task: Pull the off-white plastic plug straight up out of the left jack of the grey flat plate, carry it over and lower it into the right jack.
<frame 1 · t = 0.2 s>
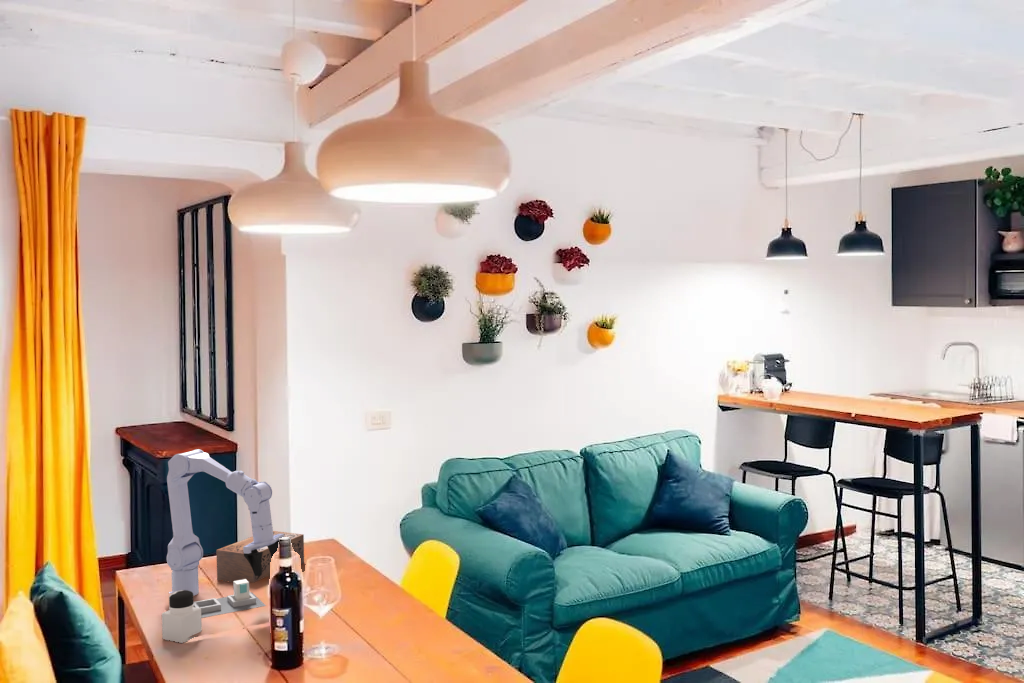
hand: (267, 571, 262), 10 cm above the table, tool pointing down, fingers open, 7 cm apart
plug: (241, 602, 264), point 1 cm above the table, touching grey flat plate
tissue box cover: (262, 572, 297), on the table
medicine bottle: (182, 637, 240), on the table
grey flat plate: (224, 608, 261), on the table
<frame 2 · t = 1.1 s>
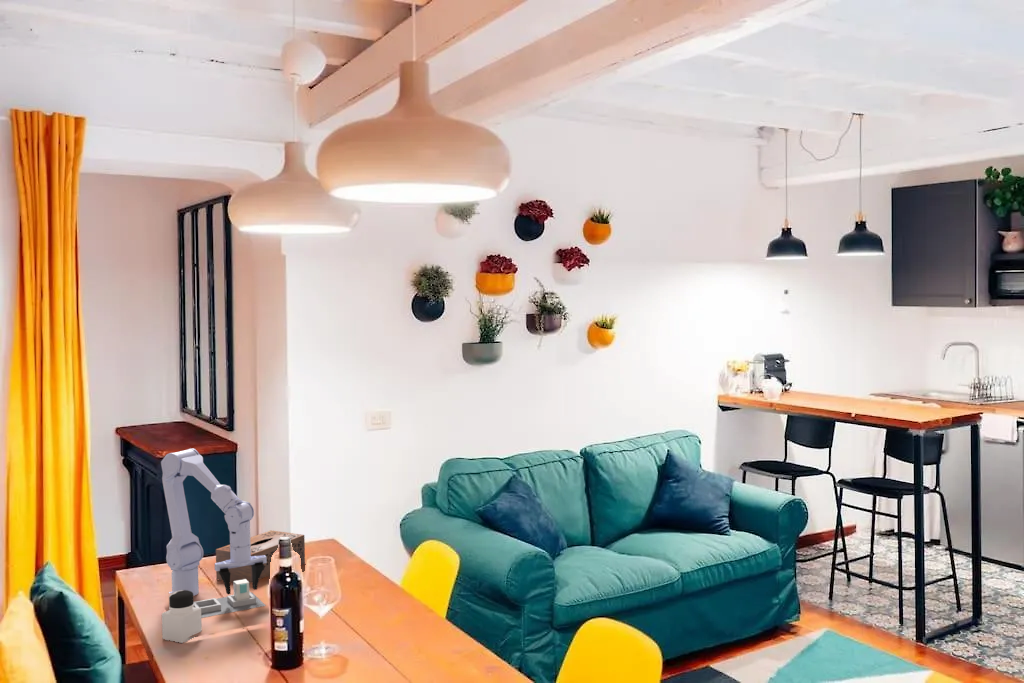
hand: (241, 591, 264), 4 cm above the table, tool pointing down, fingers open, 7 cm apart
nothing on the table moved.
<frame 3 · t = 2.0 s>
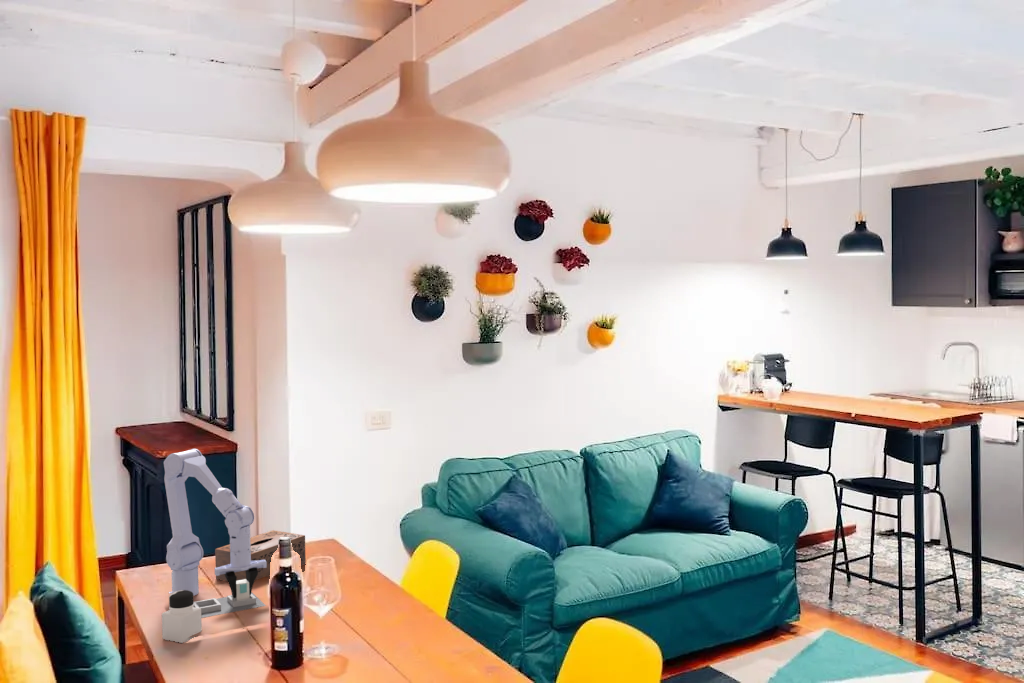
hand: (241, 595, 264), 3 cm above the table, tool pointing down, fingers closed on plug, 4 cm apart
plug: (241, 602, 264), point 1 cm above the table, touching gripper, grey flat plate
everything else where it was.
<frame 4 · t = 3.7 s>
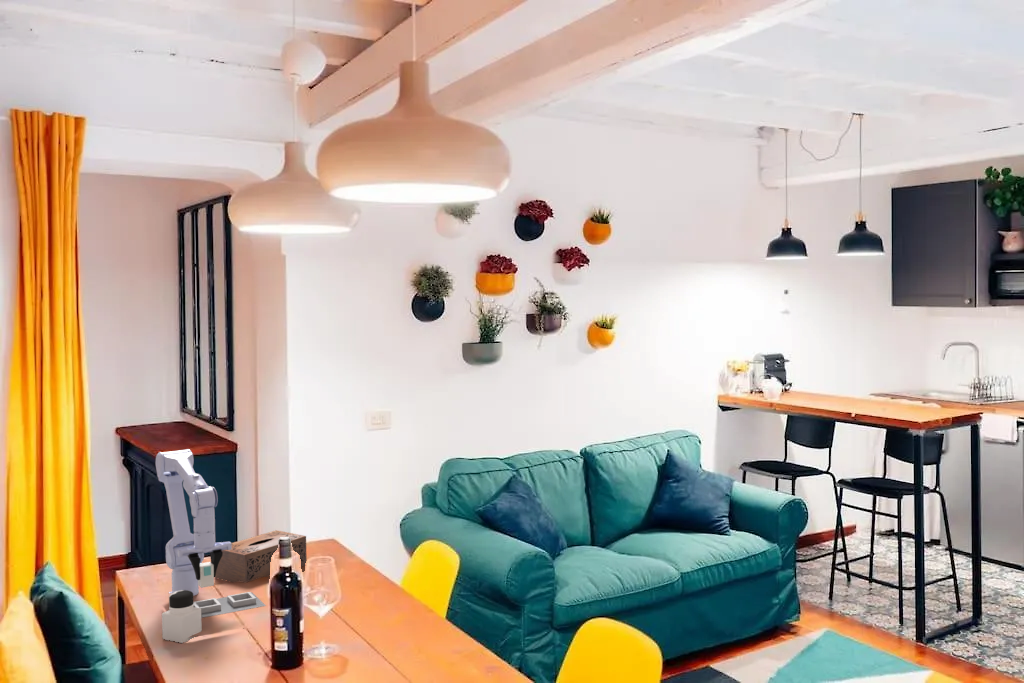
hand: (205, 577, 258), 10 cm above the table, tool pointing down, fingers closed on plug, 4 cm apart
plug: (206, 585, 258), point 8 cm above the table, touching gripper
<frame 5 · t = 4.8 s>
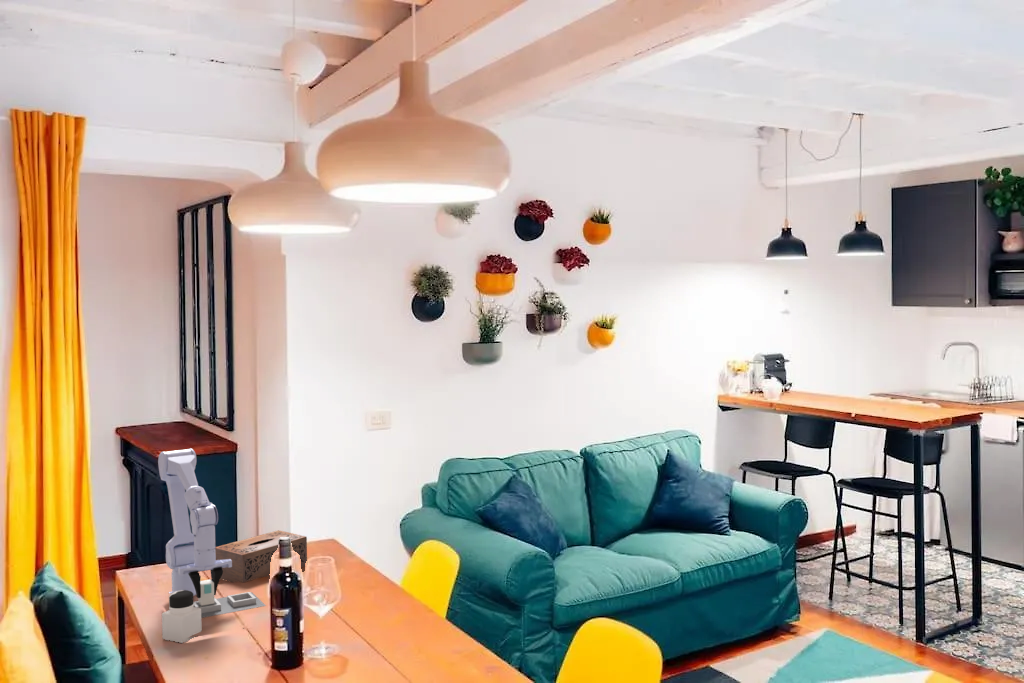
hand: (206, 595, 258), 5 cm above the table, tool pointing down, fingers closed on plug, 4 cm apart
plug: (206, 602, 258), point 3 cm above the table, touching gripper
when the fingers open (3 cm above the table, at t = 5.6 s): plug stays where it is, resting on grey flat plate.
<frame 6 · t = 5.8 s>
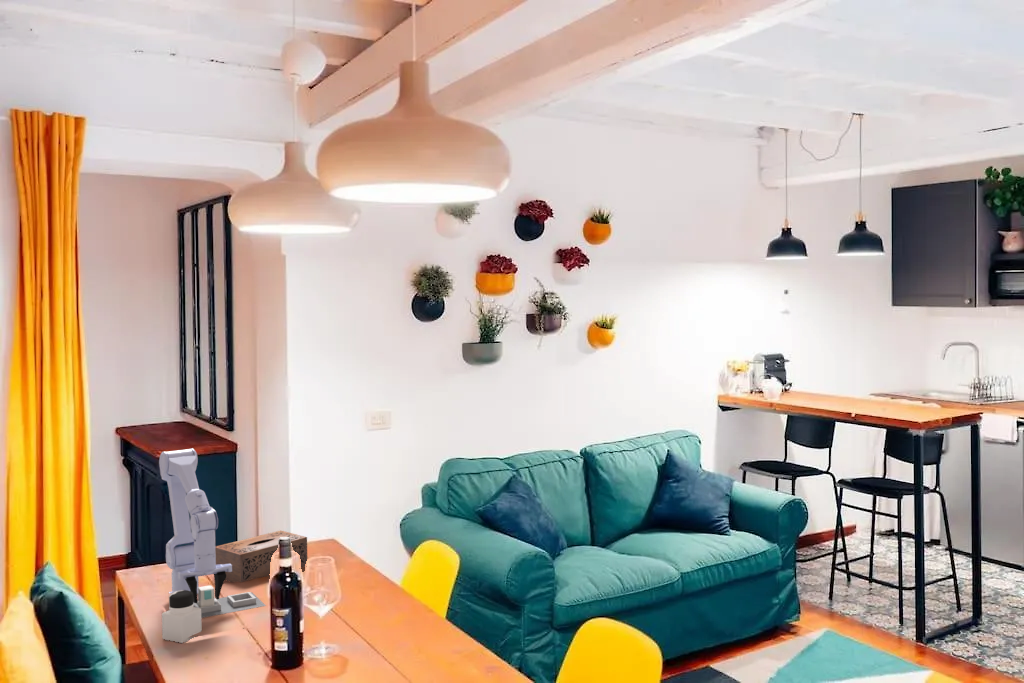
hand: (206, 600, 258), 3 cm above the table, tool pointing down, fingers open, 5 cm apart
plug: (206, 608, 258), point 1 cm above the table, touching grey flat plate
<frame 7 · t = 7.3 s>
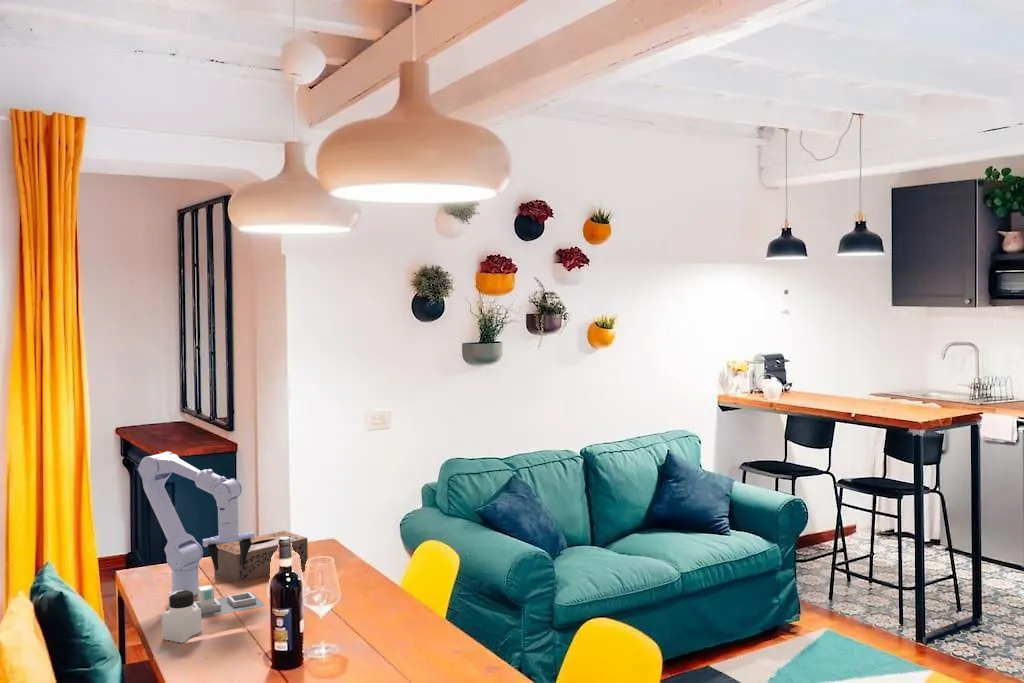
hand: (229, 567, 267), 10 cm above the table, tool pointing down, fingers open, 7 cm apart
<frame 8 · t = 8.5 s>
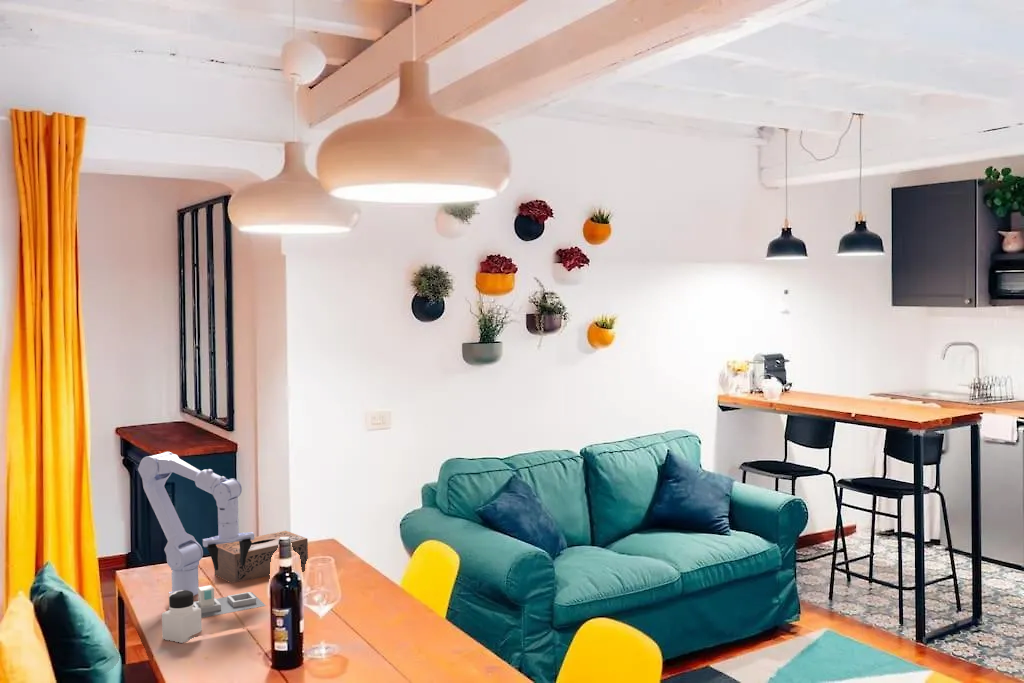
hand: (229, 567, 267), 10 cm above the table, tool pointing down, fingers open, 7 cm apart
at the end: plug 0.1 cm from the target spot on the grey flat plate, point 1.0 cm above the grey flat plate's base; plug tilted 0°; the gripper is holding nothing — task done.
